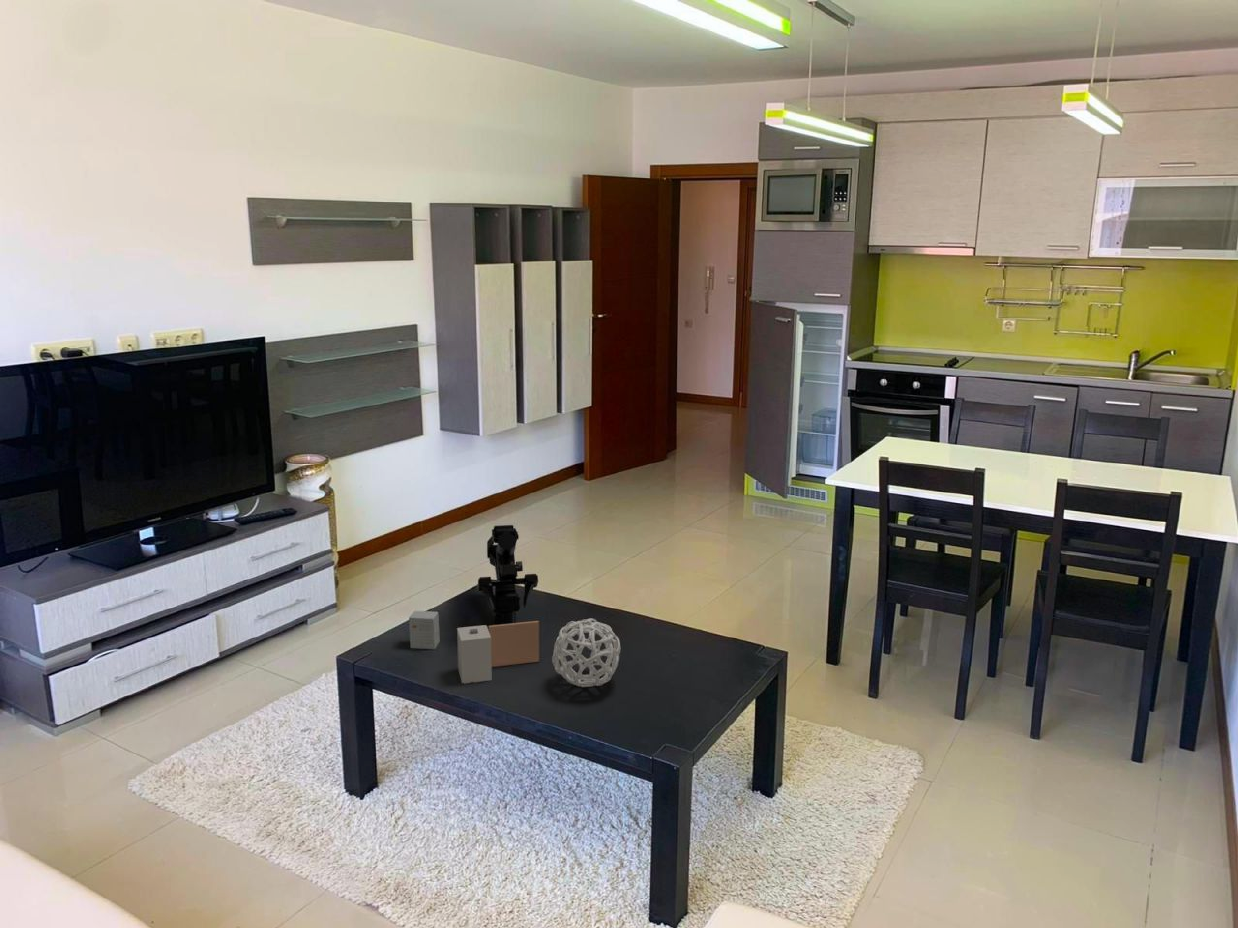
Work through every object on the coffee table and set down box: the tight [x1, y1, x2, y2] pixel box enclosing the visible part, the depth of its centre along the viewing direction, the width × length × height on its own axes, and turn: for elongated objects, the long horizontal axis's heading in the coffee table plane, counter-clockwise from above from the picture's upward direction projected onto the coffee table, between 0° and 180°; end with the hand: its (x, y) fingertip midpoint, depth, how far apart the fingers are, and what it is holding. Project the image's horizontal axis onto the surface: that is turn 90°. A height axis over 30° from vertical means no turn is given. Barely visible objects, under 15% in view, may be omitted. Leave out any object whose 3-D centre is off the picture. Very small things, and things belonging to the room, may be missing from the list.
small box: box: [408, 610, 441, 650], centre depth 290 cm, size 8×6×10 cm
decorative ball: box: [551, 617, 622, 688], centre depth 265 cm, size 20×20×19 cm
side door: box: [488, 620, 540, 668], centre depth 278 cm, size 1×15×13 cm, turn 107°
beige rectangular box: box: [456, 624, 493, 684], centre depth 271 cm, size 10×9×14 cm
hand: (510, 608), depth 288 cm, fingers open, 9 cm apart
